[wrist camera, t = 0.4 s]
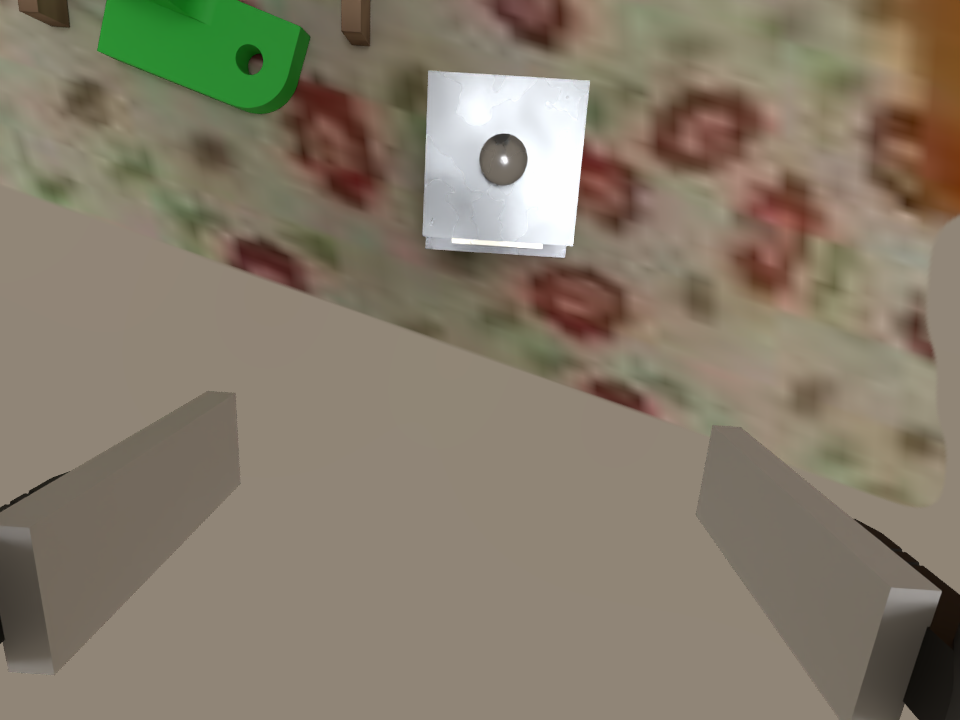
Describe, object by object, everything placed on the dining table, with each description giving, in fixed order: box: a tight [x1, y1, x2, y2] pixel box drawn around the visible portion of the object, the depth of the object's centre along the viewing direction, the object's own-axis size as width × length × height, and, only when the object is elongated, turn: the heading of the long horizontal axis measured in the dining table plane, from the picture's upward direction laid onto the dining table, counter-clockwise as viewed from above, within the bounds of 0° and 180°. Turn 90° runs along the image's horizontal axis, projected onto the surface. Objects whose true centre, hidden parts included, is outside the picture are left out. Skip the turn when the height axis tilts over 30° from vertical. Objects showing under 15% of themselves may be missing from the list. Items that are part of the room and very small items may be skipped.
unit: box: [423, 71, 590, 258], centre depth 32 cm, size 10×10×11 cm
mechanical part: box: [97, 0, 310, 114], centre depth 32 cm, size 12×6×8 cm, turn 69°
